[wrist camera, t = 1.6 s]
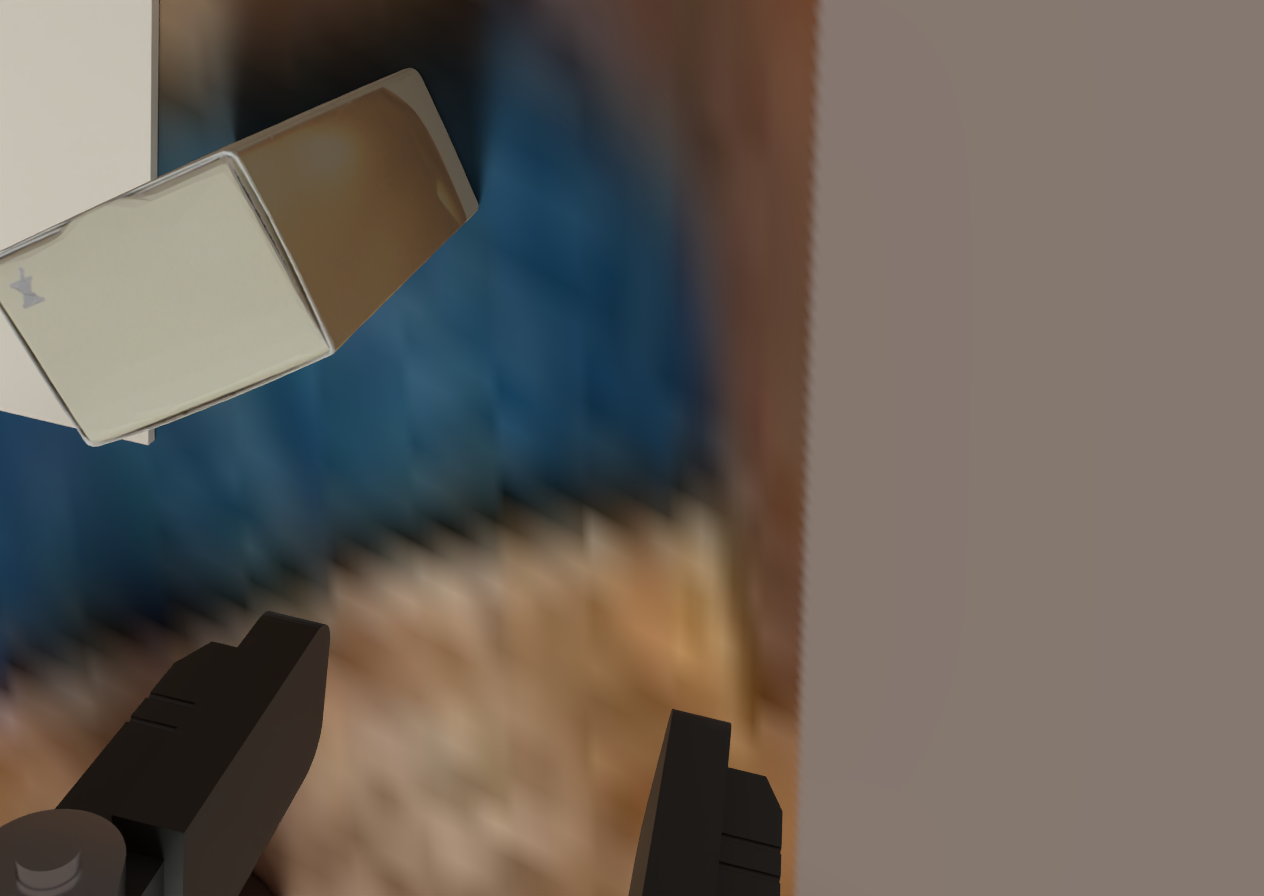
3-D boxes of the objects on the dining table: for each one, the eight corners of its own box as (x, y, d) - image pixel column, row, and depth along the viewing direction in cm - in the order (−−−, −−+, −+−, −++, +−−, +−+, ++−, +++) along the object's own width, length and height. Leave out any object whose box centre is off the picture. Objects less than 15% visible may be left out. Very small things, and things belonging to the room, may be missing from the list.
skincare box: (303, 283, 35) (75, 462, 24) (229, 144, 34) (-49, 269, 23) (494, 206, 34) (341, 361, 23) (425, 57, 32) (225, 145, 21)
